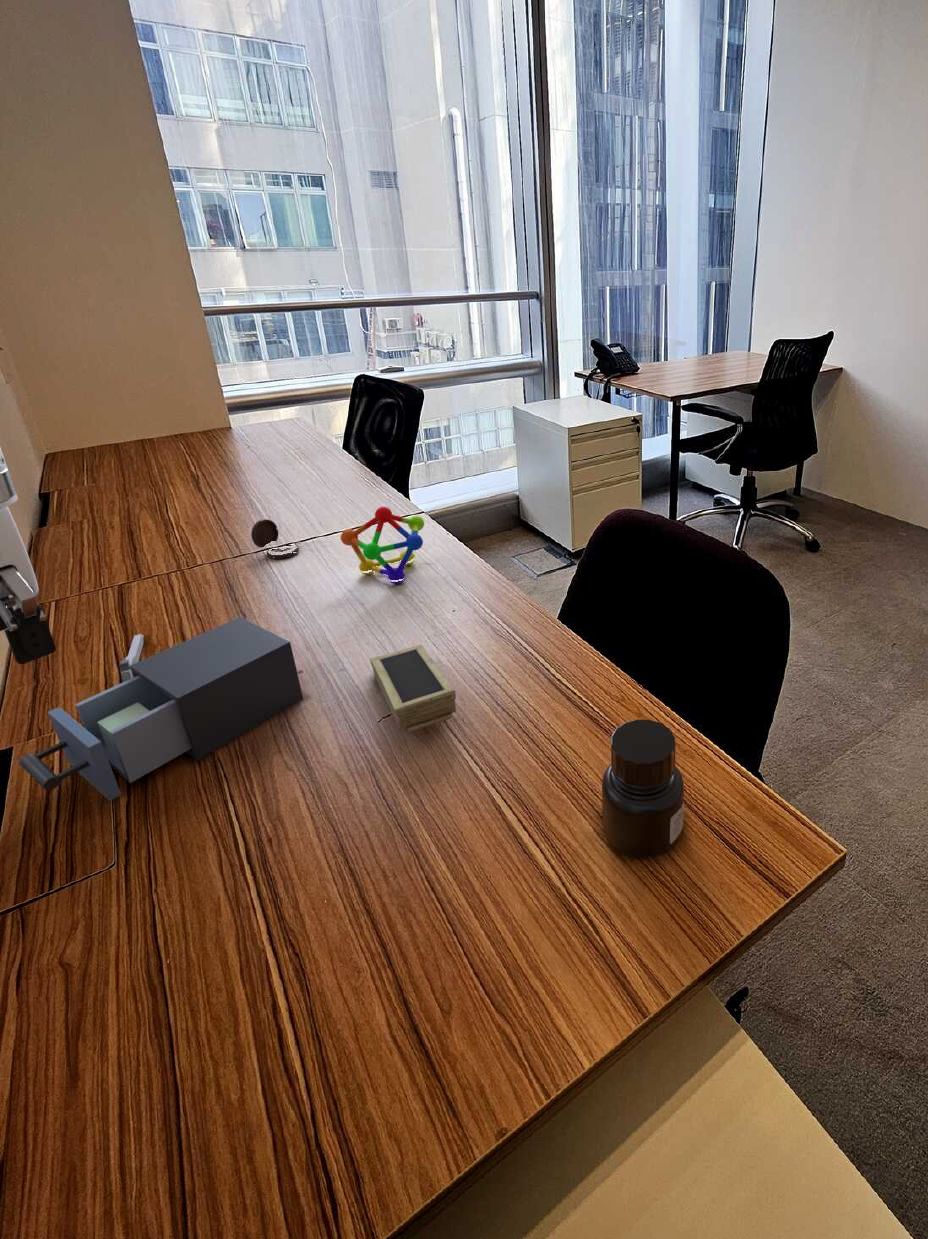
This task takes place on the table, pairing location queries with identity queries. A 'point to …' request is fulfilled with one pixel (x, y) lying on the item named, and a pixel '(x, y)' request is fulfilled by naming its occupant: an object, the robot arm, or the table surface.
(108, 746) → the block
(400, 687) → the box
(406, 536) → the educational toy
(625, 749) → the ink bottle
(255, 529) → the compass
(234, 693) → the cabinet
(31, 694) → the table surface
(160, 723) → the drawer
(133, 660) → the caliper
